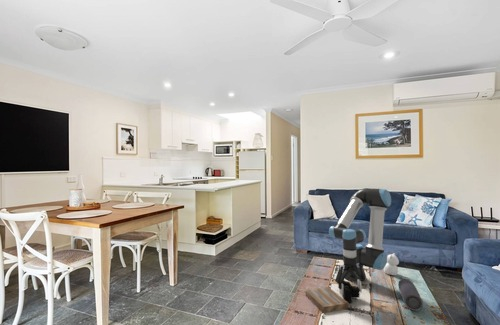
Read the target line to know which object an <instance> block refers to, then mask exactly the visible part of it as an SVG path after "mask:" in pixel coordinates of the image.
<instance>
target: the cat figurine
mask: <svg viewBox="0 0 500 325" xmlns="http://www.w3.org/2000/svg"><path fill="white" fill-rule="evenodd" d="M399 264H400V261H399V258H398V256H396V253H395V252H394V253H392V254H387V263H386V265H385V267H384V268H383V269H382V270H383V271H384V274H387V275H390V276H397V275H398V272H399V270H398V265H399Z"/></svg>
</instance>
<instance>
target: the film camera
mask: <svg viewBox="0 0 500 325" xmlns="http://www.w3.org/2000/svg"><path fill="white" fill-rule="evenodd" d="M342 284H343V295H341V297H342V298H343V299H344V300H346V301H347V302H348V303H349V304H351V303H352V302H353V299H357V298H360V293H361V292H359V288H358V287H357V285H352V284H351V283H350V282H349V281H345V280H344V281H343V282H342Z"/></svg>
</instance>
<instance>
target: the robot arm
mask: <svg viewBox="0 0 500 325" xmlns="http://www.w3.org/2000/svg"><path fill="white" fill-rule="evenodd" d="M364 205H368V208H370V214H369V215H370V217H369V218H370V219H369V227H368V228H369V230H368V239H367V244H366V245H365V247H364V246H363V245H362V244H360V243H362V242H364V241H365V240H366V238H367V233H366V232H365V231H364V230H363V229H362V228H361V229H358V228H357V229H351V228H350V227H351V224H352V222H353V220H354V219H355V217H356V215H357V214H358V212H359V210H360V208H362V207H364ZM391 205H392V196H391V194H390V192H389V190H387V189H385V188H368V187H367V188H362V189H359V190H357V191H356V192H355V193H354V194H352V195H351V197H350V199H349V204H348V205H347V206H346V208H345V210H344V211H343V213H342V214H341V217H340V218H339V219H338V221H337V223H336V224H335V225H331V226H330V227H329V228H328V235H329V237H330V238H334V239H338V240H341V241H342V254H343V255H342V261H343V264H342V265H341V264H339V265H338V270H337V273H336V276H335V280H334V281H335V282H336V283H337V284H338V285H337V286H338V289H339V294H340V296H342V295H343V284H342V282H343V281H345V280H347V281H351V282H356V283H357V284H356V287H358V288H359V293H363V292H362V288H363V282H365V281H366V280H367V275H366V273H365V268H364V267H367V268H370V269H373V270H378V271H382V270H383V268H384V267H385V265H386V263H387V256H388V254H387V253H386V252H385V249H384V247H383V237H384V223H385V214H386V213H385V212H386V211H387V210H388V207H390V206H391Z"/></svg>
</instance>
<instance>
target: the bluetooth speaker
mask: <svg viewBox="0 0 500 325" xmlns="http://www.w3.org/2000/svg"><path fill="white" fill-rule="evenodd" d="M397 285H398V286H397V287H398V290H399V293H400V296H401V298H402V300H403V303H404V304H405V306H406V307H407V308H408V309H409V310H412V311H419V310H421V309H422V308H423V301H422V300H423V299H422V297H421V296H420V292H419V291H418V289H417V287H416V285H415V284H414V283H413V282H412V280H410V279H409V278H406V277H405V278H401V279H399V281H398V284H397Z"/></svg>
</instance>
